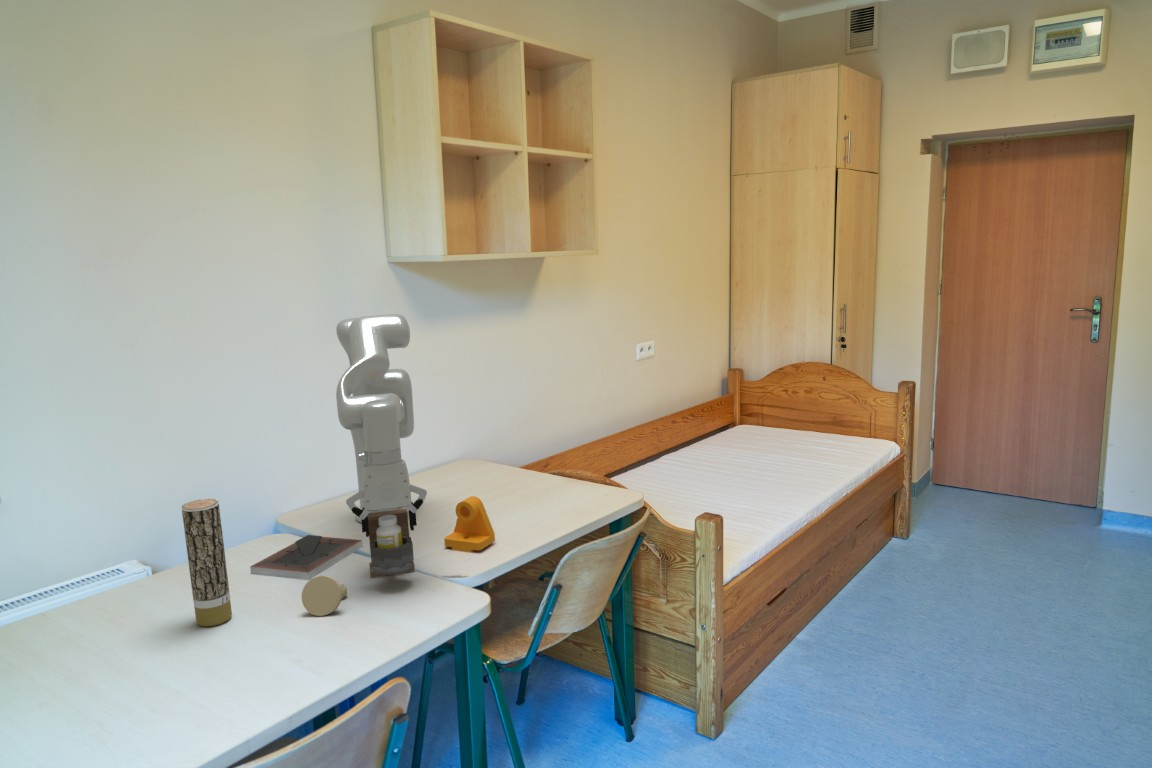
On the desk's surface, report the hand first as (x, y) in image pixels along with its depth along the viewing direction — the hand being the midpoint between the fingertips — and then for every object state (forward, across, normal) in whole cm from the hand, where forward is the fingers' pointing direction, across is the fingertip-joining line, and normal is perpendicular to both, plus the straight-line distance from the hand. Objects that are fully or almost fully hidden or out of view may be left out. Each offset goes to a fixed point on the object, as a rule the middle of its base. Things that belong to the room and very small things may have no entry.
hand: (389, 531), depth 177 cm
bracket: (+13, +20, +18) cm, 29 cm away
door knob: (+13, -14, -6) cm, 20 cm away
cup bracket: (+13, 0, +4) cm, 13 cm away
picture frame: (+14, -19, +24) cm, 34 cm away
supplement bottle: (+7, 0, 0) cm, 7 cm away
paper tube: (+13, -37, -5) cm, 39 cm away
